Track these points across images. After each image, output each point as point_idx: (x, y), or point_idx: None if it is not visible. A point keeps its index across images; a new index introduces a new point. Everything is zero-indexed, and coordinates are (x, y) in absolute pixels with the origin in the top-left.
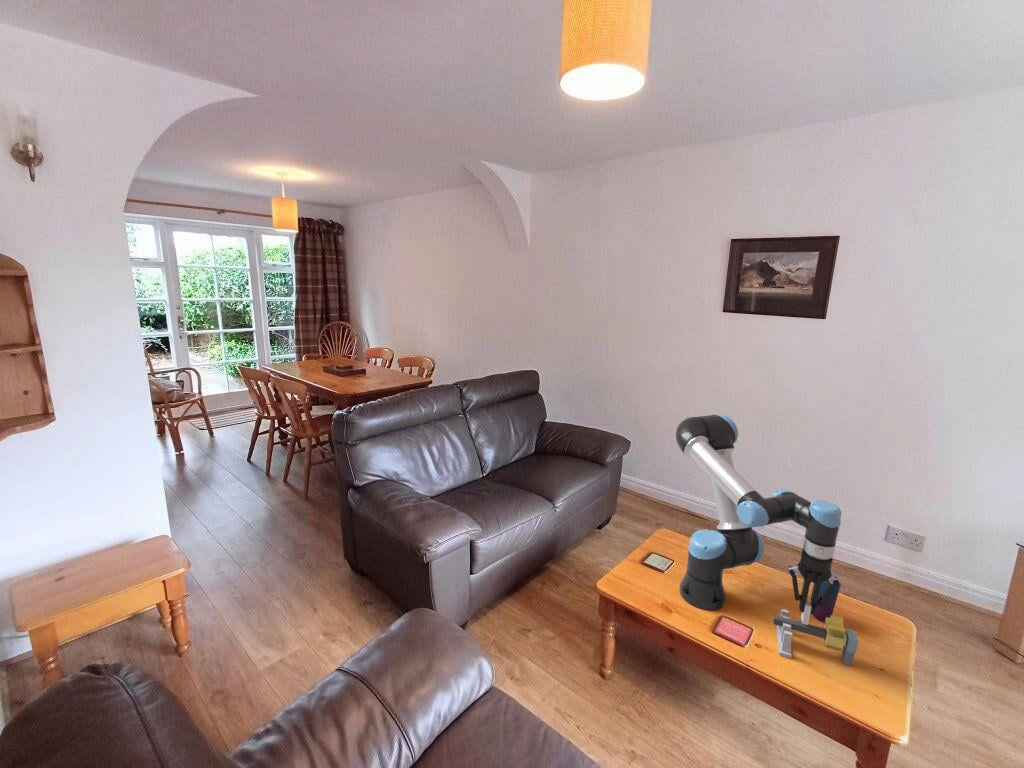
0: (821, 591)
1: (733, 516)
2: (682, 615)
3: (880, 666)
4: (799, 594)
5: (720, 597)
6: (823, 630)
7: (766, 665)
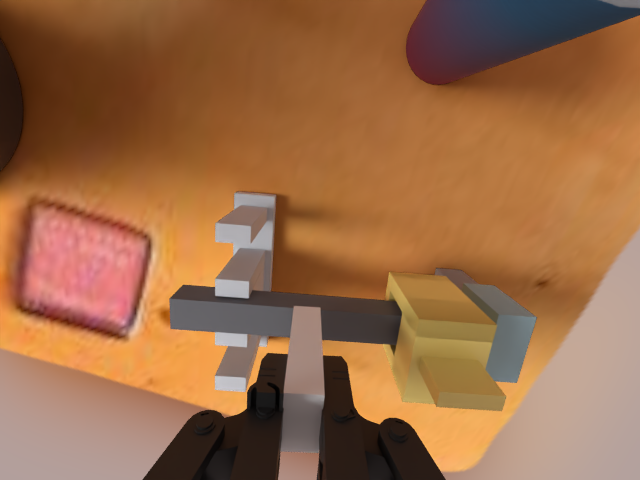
0: (492, 21)
1: None
2: None
3: (546, 271)
4: (224, 449)
5: None
6: (386, 330)
7: (194, 387)
